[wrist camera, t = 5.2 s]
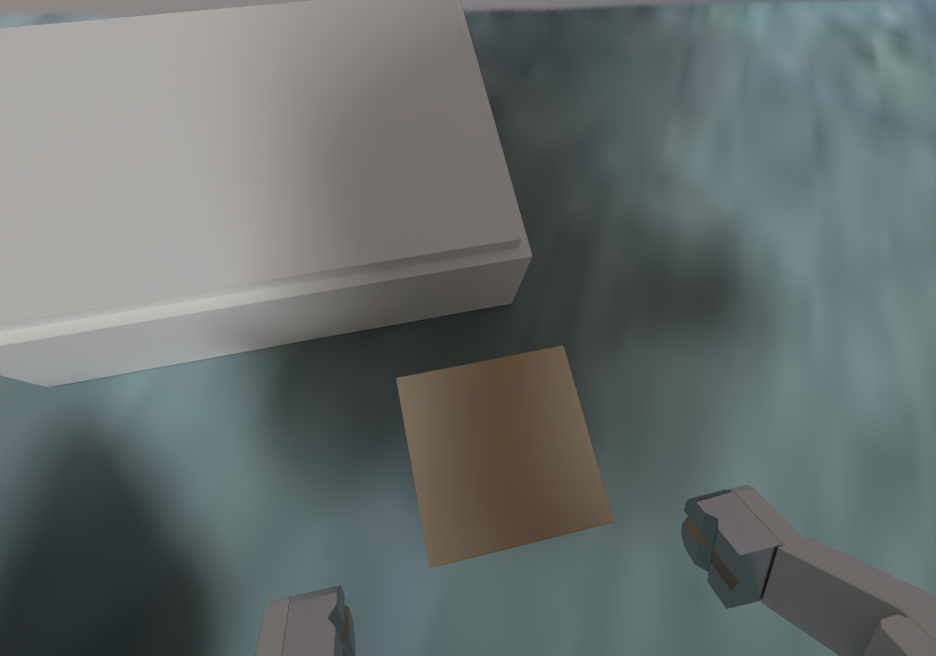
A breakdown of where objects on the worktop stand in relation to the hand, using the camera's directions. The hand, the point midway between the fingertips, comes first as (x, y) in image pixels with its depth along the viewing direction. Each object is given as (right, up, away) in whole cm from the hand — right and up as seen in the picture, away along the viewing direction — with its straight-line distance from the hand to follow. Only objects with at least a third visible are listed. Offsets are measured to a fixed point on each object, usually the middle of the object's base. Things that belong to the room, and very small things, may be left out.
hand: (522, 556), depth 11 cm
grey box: (-9, +10, +10) cm, 17 cm away
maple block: (-1, 0, +7) cm, 7 cm away
